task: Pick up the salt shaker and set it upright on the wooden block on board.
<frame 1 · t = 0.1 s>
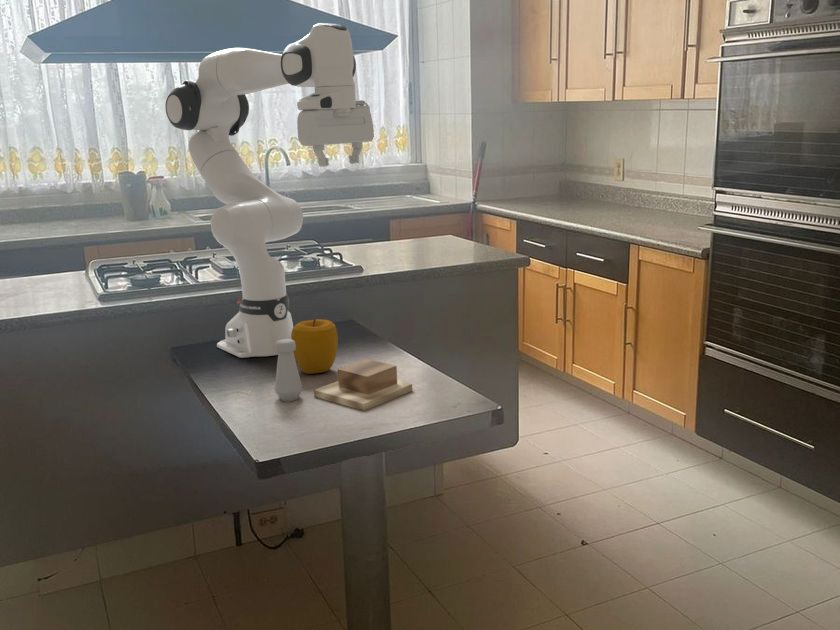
hand: (339, 164, 180), 48 cm above the table, fingers open, 8 cm apart
apple: (316, 372, 191), on the table
salt shaker: (289, 399, 174), on the table
wooden block on board: (368, 391, 176), on the table
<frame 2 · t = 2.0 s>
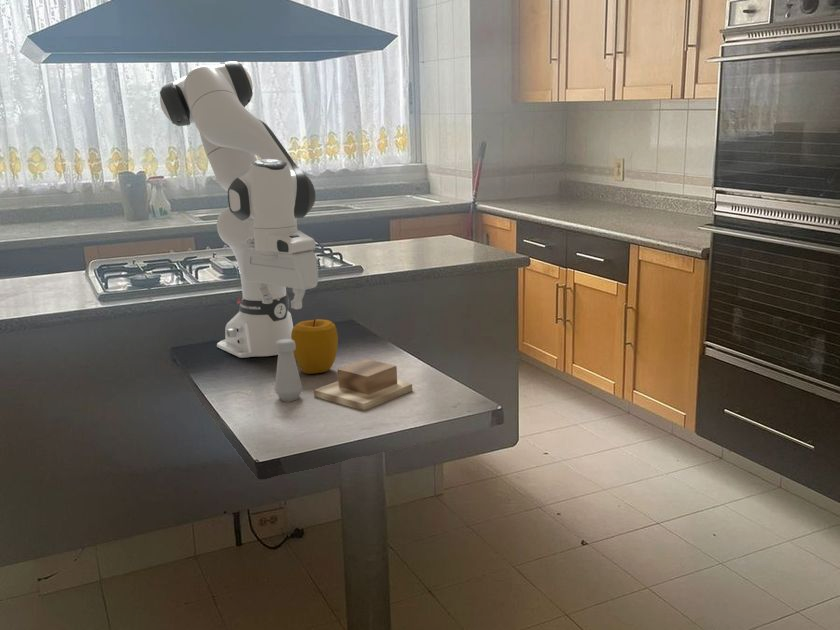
hand: (281, 305, 169), 20 cm above the table, fingers open, 8 cm apart
nothing on the table moved.
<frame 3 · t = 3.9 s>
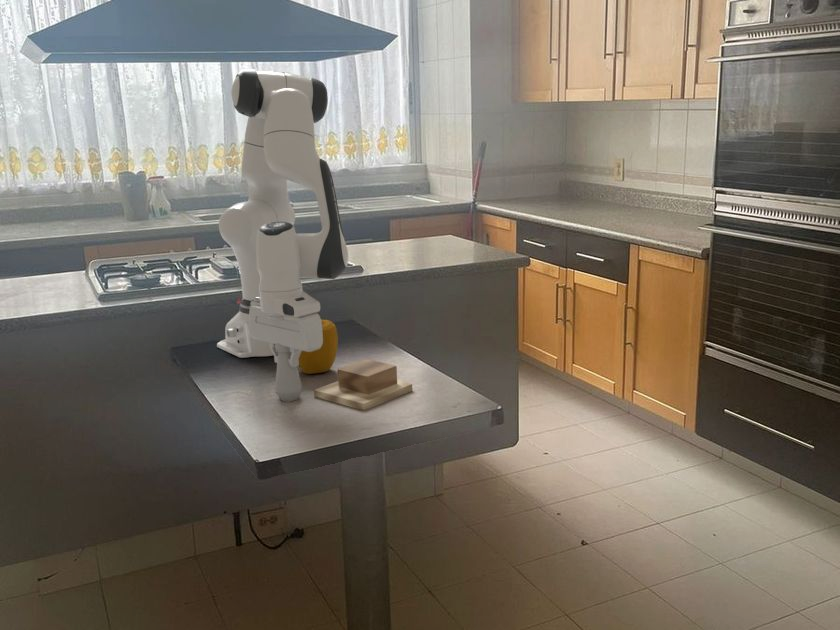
hand: (286, 364, 172), 8 cm above the table, fingers closed on salt shaker, 3 cm apart
salt shaker: (289, 399, 174), on the table, touching gripper
everything else where it was.
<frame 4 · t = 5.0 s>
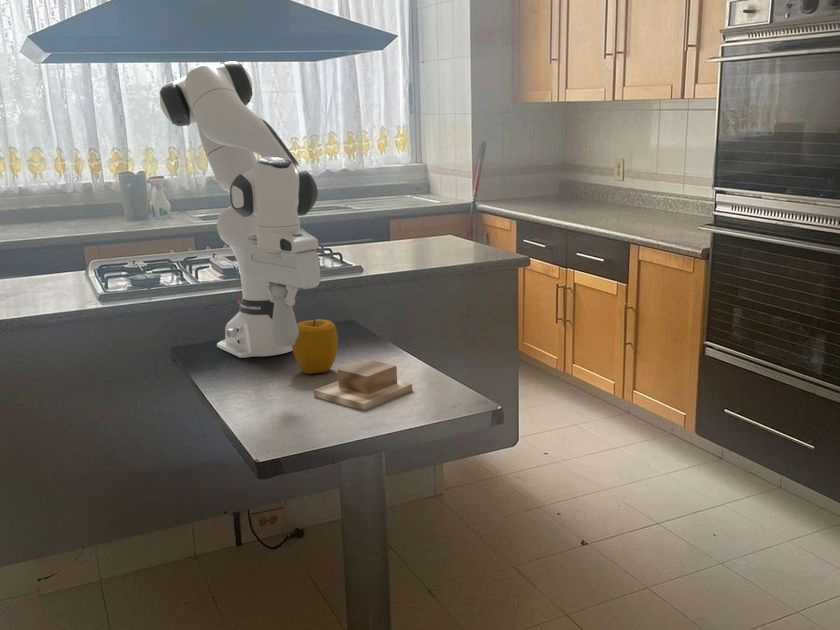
hand: (282, 303, 169), 21 cm above the table, fingers closed on salt shaker, 3 cm apart
salt shaker: (285, 344, 171), point 12 cm above the table, touching gripper
everything else where it was.
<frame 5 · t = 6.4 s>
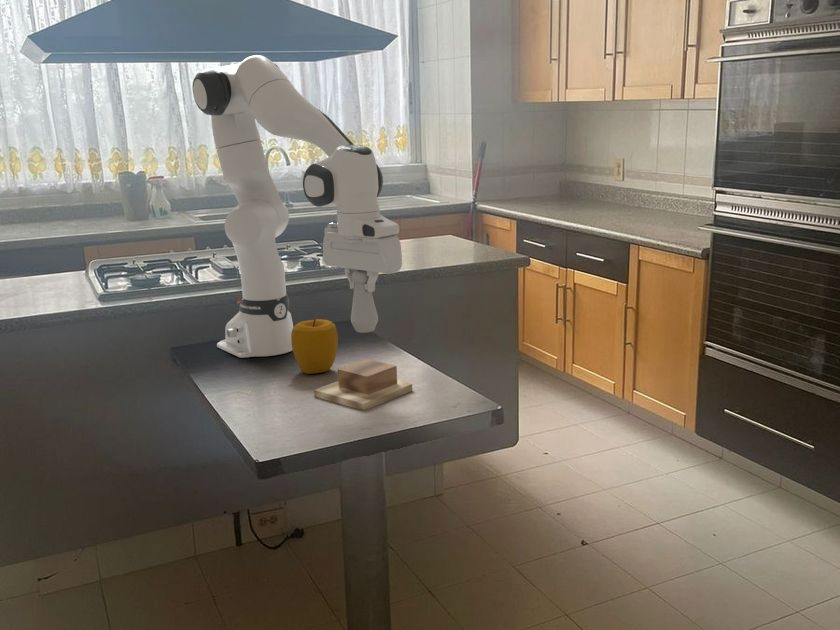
hand: (362, 290, 171), 23 cm above the table, fingers closed on salt shaker, 3 cm apart
salt shaker: (365, 331, 173), point 14 cm above the table, touching gripper
everything else where it was.
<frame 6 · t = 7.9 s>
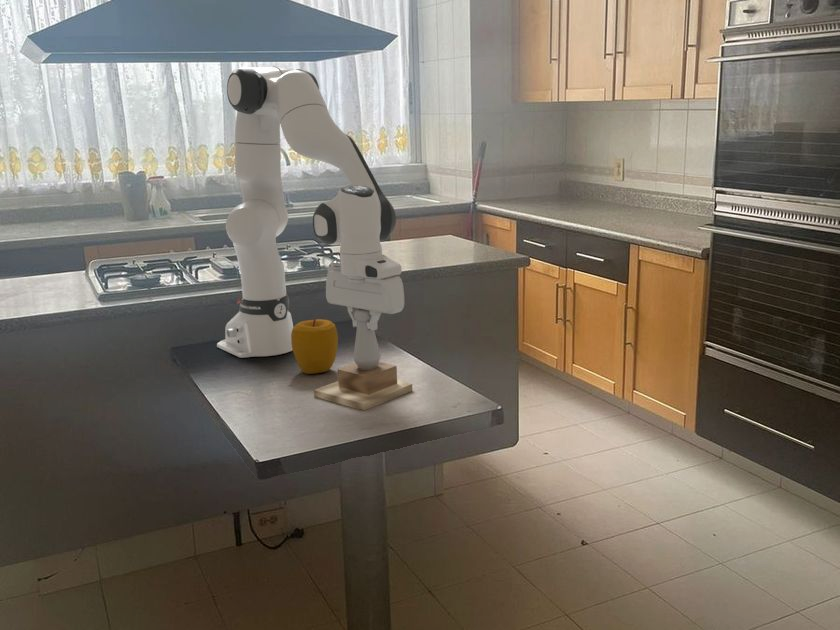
hand: (365, 328, 173), 14 cm above the table, fingers closed on salt shaker, 3 cm apart
salt shaker: (367, 368, 175), point 5 cm above the table, touching gripper, wooden block on board
everything else where it was.
when the fingers open (14 cm above the table, at t = 8.1 s): salt shaker stays where it is, resting on wooden block on board.
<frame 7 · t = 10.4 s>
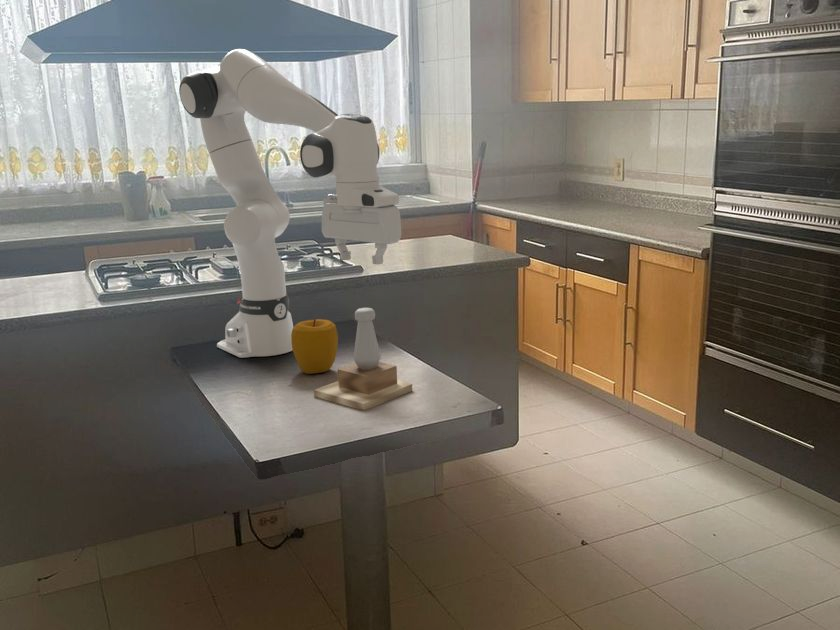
hand: (361, 261, 169), 29 cm above the table, fingers open, 8 cm apart
salt shaker: (367, 368, 175), point 5 cm above the table, touching wooden block on board
everything else where it was.
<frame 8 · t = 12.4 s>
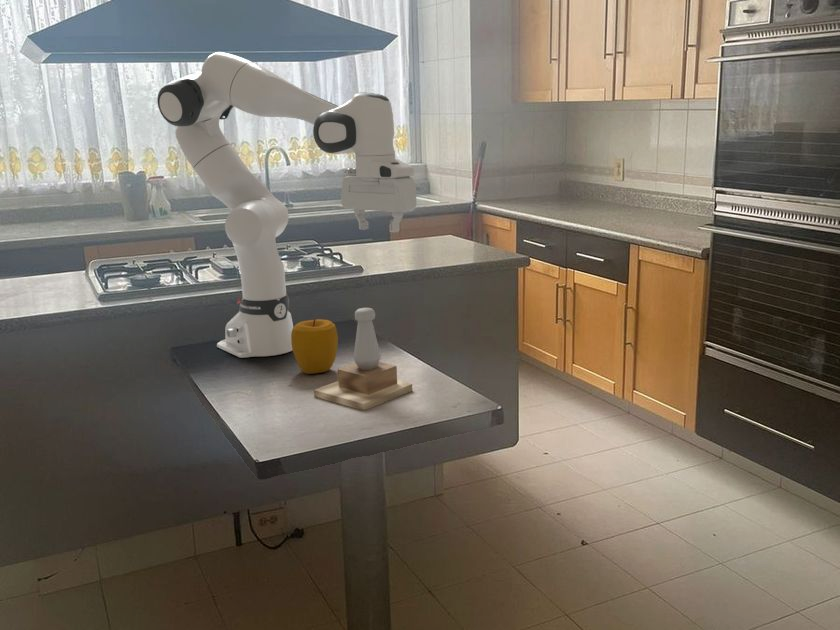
hand: (378, 230, 182), 33 cm above the table, fingers open, 8 cm apart
nothing on the table moved.
at the end: salt shaker inside the target area on the wooden block on board (0.2 cm from its centre), point 5.3 cm above the wooden block on board's base; salt shaker tilted 0°; the gripper is holding nothing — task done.
